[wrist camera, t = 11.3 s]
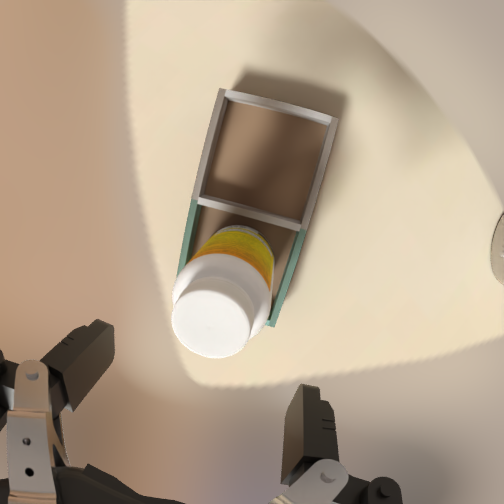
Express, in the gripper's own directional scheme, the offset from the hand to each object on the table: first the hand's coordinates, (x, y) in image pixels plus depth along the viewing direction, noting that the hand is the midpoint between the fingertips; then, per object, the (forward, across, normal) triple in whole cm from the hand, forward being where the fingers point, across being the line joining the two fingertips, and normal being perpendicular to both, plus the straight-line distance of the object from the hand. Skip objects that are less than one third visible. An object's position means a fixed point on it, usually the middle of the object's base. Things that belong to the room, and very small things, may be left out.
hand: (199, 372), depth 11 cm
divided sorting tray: (+14, +1, -4) cm, 15 cm away
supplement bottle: (+13, 0, 0) cm, 13 cm away
